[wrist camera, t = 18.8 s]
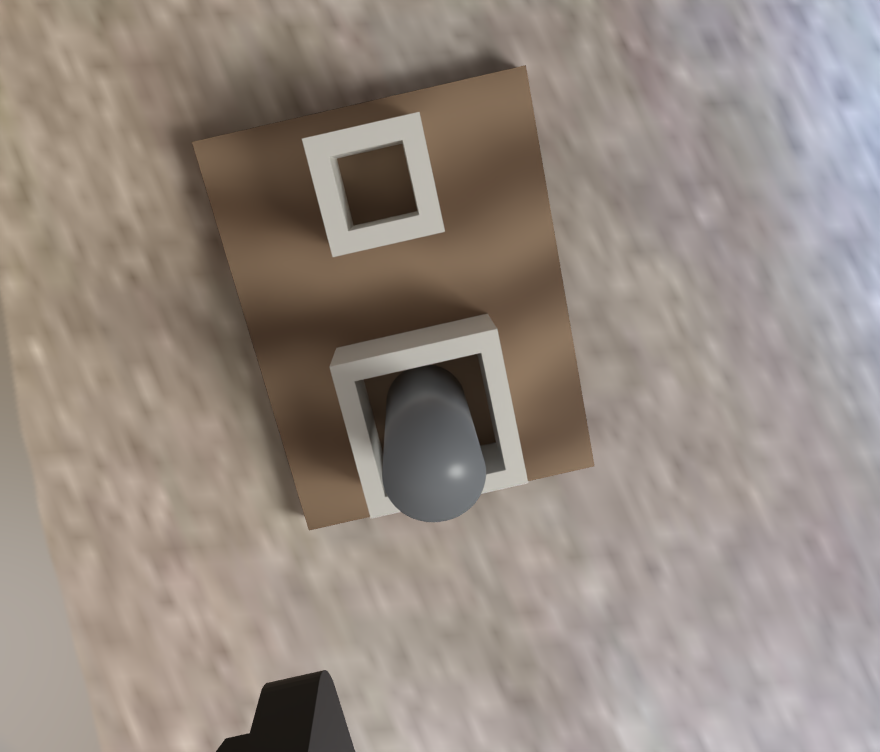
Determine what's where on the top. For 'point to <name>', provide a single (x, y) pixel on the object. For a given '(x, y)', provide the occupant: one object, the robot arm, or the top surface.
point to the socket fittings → (413, 345)
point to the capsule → (431, 446)
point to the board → (400, 274)
